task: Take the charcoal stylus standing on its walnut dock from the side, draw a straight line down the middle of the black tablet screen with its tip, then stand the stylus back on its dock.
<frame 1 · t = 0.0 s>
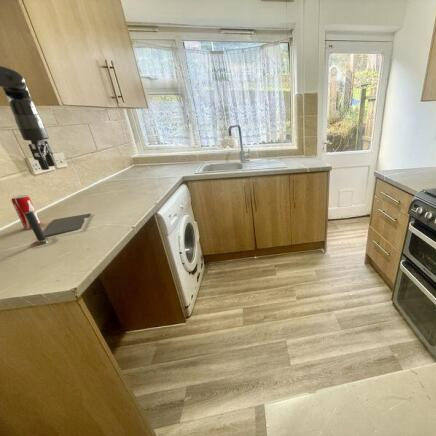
hand: (48, 167, 103), 27 cm above the countertop, tool pointing down, fingers open, 8 cm apart
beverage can: (34, 226, 115), on the countertop
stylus: (43, 241, 100), resting on dock
dock: (43, 242, 100), on the countertop
tablet: (68, 225, 115), on the countertop
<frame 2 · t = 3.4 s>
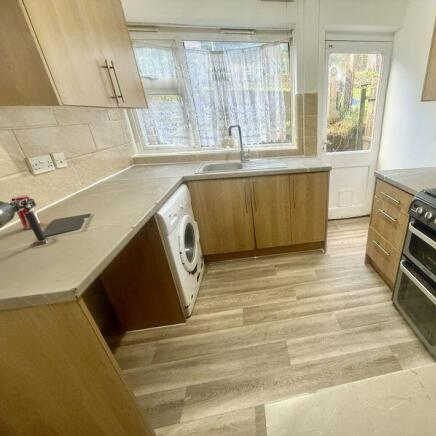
hand: (11, 203, 84), 20 cm above the countertop, tool horizontal, fingers open, 8 cm apart
nothing on the countertop moved.
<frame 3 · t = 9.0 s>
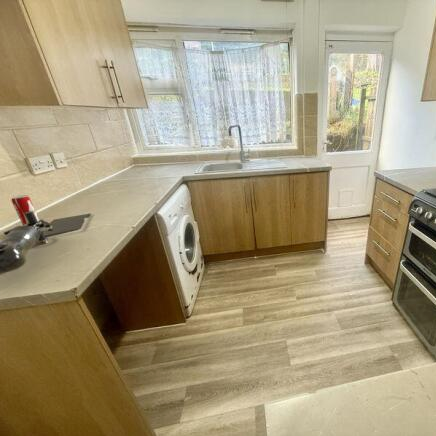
hand: (37, 222, 99), 8 cm above the countertop, tool horizontal, fingers closed on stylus, 2 cm apart
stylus: (43, 241, 100), point 1 cm above the countertop, touching dock, gripper
everything else where it was.
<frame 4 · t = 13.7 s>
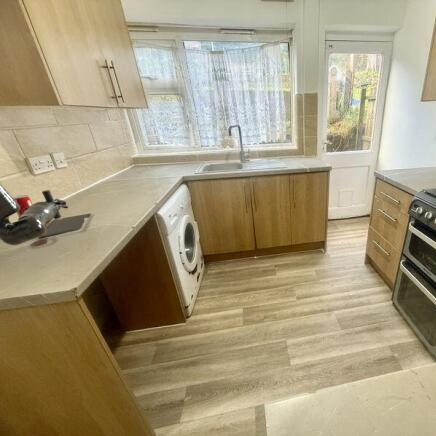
hand: (53, 201, 105), 14 cm above the countertop, tool horizontal, fingers closed on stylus, 2 cm apart
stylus: (58, 219, 106), point 6 cm above the countertop, touching gripper
everything else where it was.
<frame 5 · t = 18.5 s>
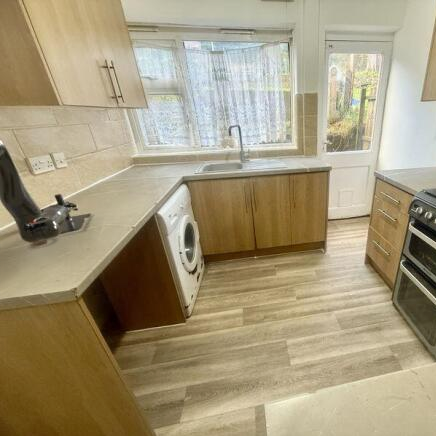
hand: (64, 204, 116), 9 cm above the countertop, tool horizontal, fingers closed on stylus, 2 cm apart
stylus: (68, 220, 117), point 1 cm above the countertop, touching gripper
everything else where it was.
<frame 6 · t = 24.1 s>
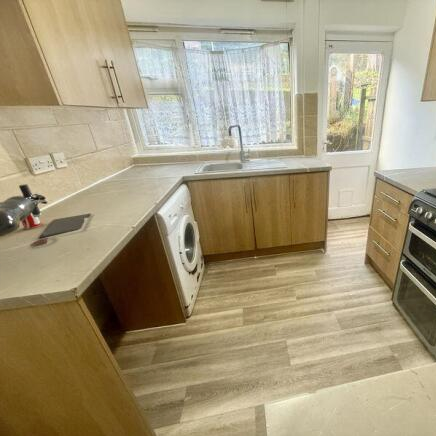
hand: (32, 196, 98), 18 cm above the countertop, tool horizontal, fingers closed on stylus, 2 cm apart
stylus: (37, 216, 99), point 10 cm above the countertop, touching gripper
everything else where it was.
when the fingers open (8 cm above the countertop, at t = 28.5 s): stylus stays where it is, resting on dock.
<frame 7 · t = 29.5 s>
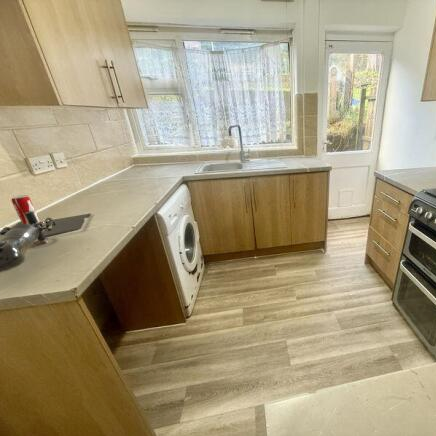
hand: (35, 222, 98), 9 cm above the countertop, tool horizontal, fingers open, 8 cm apart
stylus: (43, 241, 100), resting on dock
everything else where it was.
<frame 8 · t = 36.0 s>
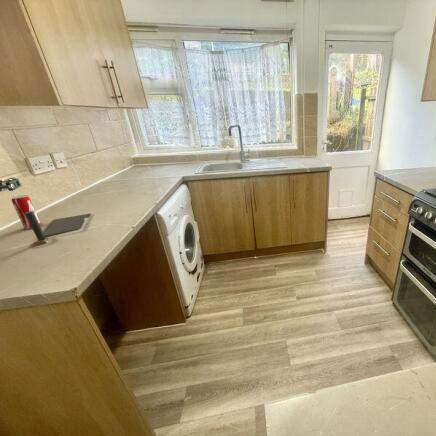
nothing on the countertop moved.
at the end: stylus inside the target area (0.1 cm from its centre), point 0.5 cm above the countertop; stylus tilted 0°; the gripper is holding nothing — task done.
